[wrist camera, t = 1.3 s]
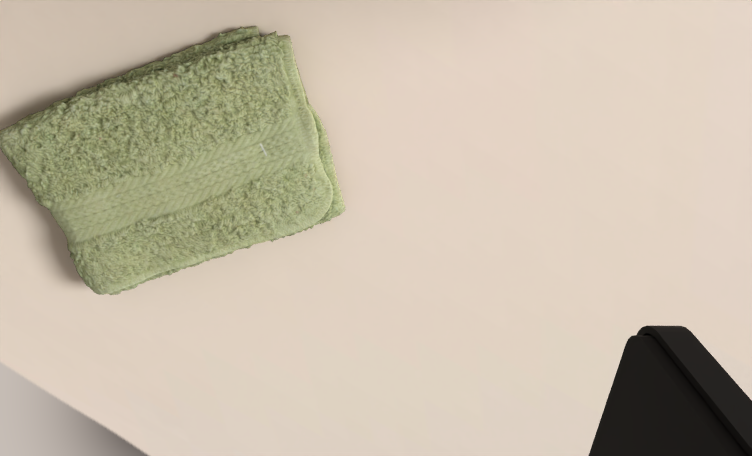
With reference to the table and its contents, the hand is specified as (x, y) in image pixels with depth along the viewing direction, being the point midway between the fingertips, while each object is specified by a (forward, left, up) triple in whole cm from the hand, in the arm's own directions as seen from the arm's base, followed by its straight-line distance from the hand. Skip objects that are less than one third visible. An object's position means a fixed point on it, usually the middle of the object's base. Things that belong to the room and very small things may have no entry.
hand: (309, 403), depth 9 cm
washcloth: (+9, +6, -32) cm, 34 cm away
